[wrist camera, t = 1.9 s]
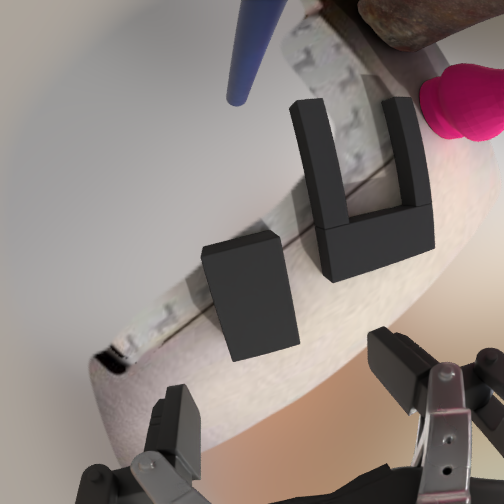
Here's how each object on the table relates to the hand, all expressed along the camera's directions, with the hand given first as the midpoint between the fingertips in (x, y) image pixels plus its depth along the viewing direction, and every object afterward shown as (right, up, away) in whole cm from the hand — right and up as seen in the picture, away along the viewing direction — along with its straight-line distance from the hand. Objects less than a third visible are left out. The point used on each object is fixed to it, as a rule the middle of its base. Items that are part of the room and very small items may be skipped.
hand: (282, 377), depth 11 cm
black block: (-1, +2, +10) cm, 10 cm away
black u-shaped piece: (+8, +11, +9) cm, 16 cm away
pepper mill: (+17, +19, +9) cm, 27 cm away
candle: (+12, +27, +6) cm, 30 cm away
